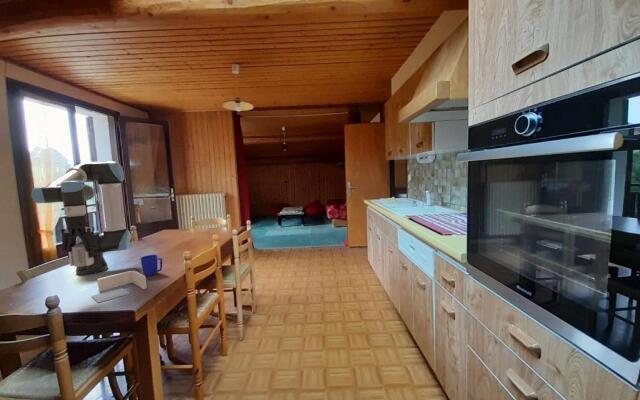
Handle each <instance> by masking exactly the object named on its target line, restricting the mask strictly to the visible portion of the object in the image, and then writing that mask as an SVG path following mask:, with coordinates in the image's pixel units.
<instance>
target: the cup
mask: <svg viewBox="0 0 640 400" xmlns="http://www.w3.org/2000/svg"><path fill="white" fill-rule="evenodd" d="M89 248H90V247H89ZM85 251H86V248H85V246H84V244H81V245H74V246H73V247H72V253H73V261H74V267H75V268H77V267H82V266H87V263H86V255H85ZM93 263H94V258H93Z"/></svg>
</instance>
